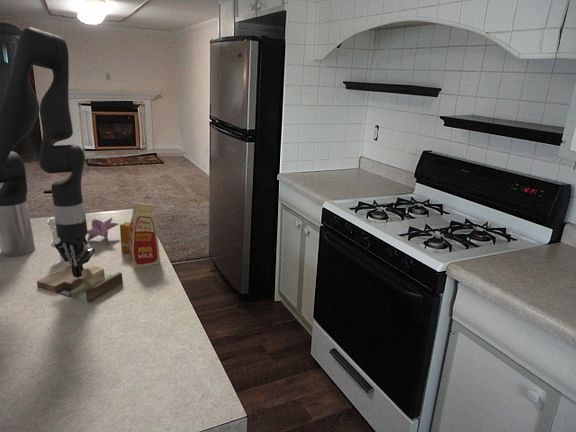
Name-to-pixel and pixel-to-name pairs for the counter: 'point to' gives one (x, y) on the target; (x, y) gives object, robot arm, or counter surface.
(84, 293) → the trap track
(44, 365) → the counter surface
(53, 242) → the white tall cylindrical piece
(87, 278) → the maple block
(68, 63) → the robot arm
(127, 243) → the supplement box
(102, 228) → the lily
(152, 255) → the milk carton
